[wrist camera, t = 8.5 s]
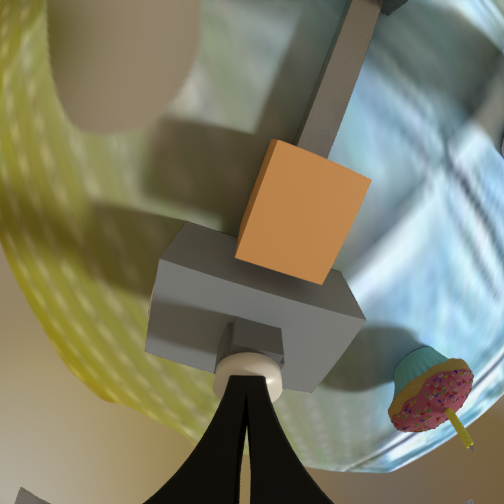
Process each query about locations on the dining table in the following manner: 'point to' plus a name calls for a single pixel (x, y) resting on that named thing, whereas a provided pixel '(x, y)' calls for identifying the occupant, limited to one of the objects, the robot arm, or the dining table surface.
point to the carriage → (299, 212)
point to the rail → (340, 74)
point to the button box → (246, 311)
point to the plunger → (248, 372)
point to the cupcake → (430, 392)
